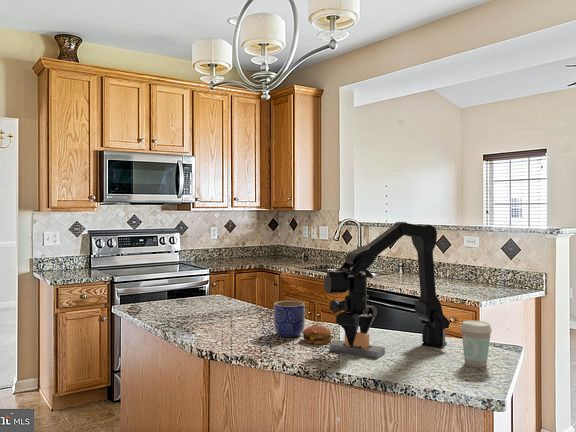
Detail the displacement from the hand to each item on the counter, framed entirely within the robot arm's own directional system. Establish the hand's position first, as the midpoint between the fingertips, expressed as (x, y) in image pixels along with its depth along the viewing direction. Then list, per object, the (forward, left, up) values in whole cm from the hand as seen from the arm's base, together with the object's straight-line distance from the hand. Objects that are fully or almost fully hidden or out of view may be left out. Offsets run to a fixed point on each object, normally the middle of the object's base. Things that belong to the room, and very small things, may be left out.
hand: (357, 341), depth 159 cm
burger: (+17, -5, -4) cm, 18 cm away
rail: (0, 0, -3) cm, 3 cm away
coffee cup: (-34, -7, -3) cm, 35 cm away
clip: (0, 0, -3) cm, 3 cm away
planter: (+29, -7, -3) cm, 30 cm away
